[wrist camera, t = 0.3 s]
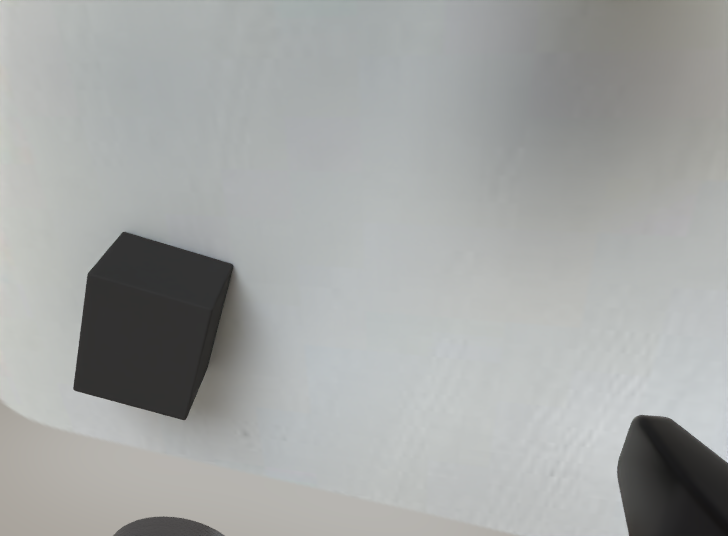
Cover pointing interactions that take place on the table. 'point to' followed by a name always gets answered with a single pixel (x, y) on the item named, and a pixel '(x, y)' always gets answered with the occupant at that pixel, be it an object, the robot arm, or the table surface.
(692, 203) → the table surface
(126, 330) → the black rectangular block
